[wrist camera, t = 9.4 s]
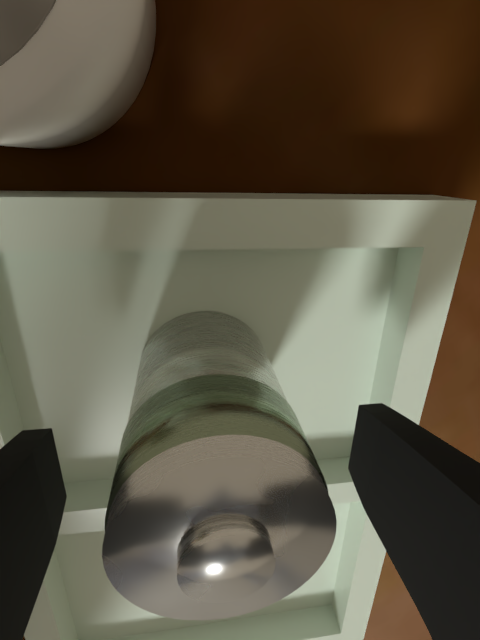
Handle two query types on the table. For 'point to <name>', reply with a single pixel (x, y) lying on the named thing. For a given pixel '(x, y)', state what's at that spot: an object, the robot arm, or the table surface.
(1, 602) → the robot arm
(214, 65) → the table surface
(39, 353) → the trough tray
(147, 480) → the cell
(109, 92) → the cup
